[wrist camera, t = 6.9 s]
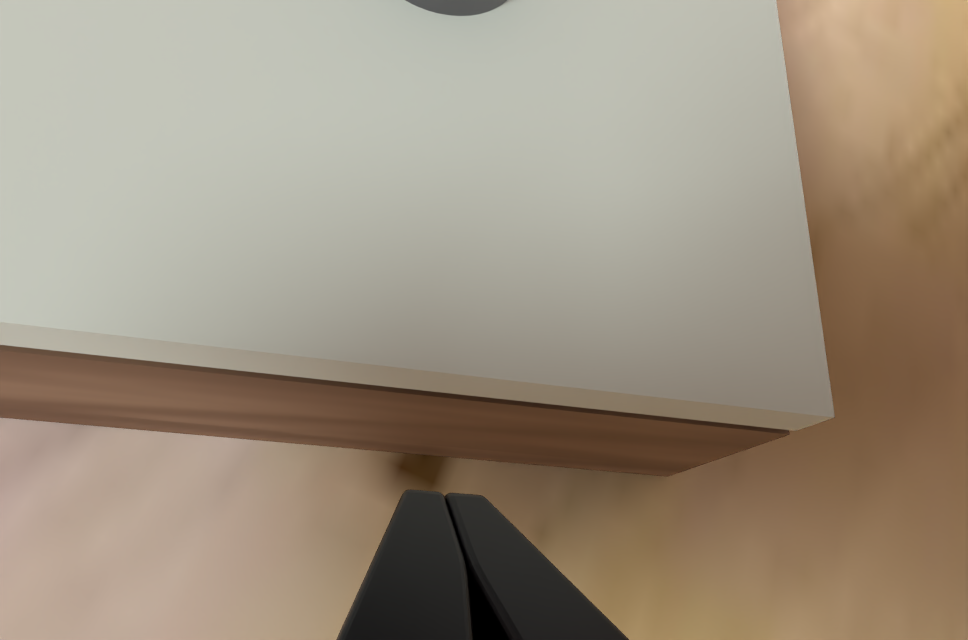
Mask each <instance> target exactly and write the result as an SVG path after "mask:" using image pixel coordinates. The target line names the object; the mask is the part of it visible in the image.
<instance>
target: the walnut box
mask: <svg viewBox="0 0 968 640" xmlns="http://www.w3.org/2000/svg"><path fill="white" fill-rule="evenodd" d="M0 417H2V418H14V419H25V420H36V421H48V422H59V423H70V424H82V425H93V426H104V427H115V428H127V429H138V430H149V431H161V432H172V433H183V434H195V435H206V436H217V437H229V438H240V439H251V440H263V441H274V442H285V443H297V444H308V445H319V446H330V447H342V448H353V449H364V450H376V451H387V452H398V453H410V454H421V455H432V456H444V457H455V458H466V459H478V460H489V461H500V462H511V463H523V464H534V465H545V466H557V467H568V468H579V469H591V470H602V471H613V472H625V473H636V474H647V475H659V476H670V475H673V474H676V473H679V472H682V471H685V470H688V469H691V468H694V467H696V466H699V465H702V464H705V463H708V462H711V461H714V460H717V459H720V458H723V457H725V456H728V455H731V454H734V453H737V452H740V451H743V450H746V449H749V448H752V447H755V446H757V445H760V444H763V443H766V442H769V441H772V440H775V439H778V438H781V437H784V436H787V435H789V430H784V429H774V428H765V427H756V426H747V425H737V424H728V423H719V422H710V421H701V420H691V419H682V418H673V417H664V416H654V415H645V414H636V413H627V412H617V411H608V410H599V409H590V408H580V407H571V406H562V405H553V404H543V403H534V402H525V401H516V400H506V399H497V398H488V397H479V396H469V395H460V394H451V393H442V392H433V391H423V390H414V389H405V388H396V387H386V386H377V385H368V384H359V383H349V382H340V381H331V380H322V379H312V378H303V377H294V376H285V375H275V374H266V373H257V372H248V371H238V370H229V369H220V368H211V367H202V366H192V365H183V364H174V363H165V362H155V361H146V360H137V359H128V358H118V357H109V356H100V355H91V354H81V353H72V352H63V351H54V350H44V349H35V348H26V347H17V346H7V345H0Z"/></svg>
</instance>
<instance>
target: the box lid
mask: <svg viewBox="0 0 968 640" xmlns="http://www.w3.org/2000/svg"><path fill="white" fill-rule="evenodd" d="M0 345H7V346H17V347H26V348H35V349H44V350H54V351H63V352H72V353H81V354H91V355H100V356H109V357H118V358H128V359H137V360H146V361H155V362H165V363H174V364H183V365H192V366H202V367H211V368H220V369H229V370H238V371H248V372H257V373H266V374H275V375H285V376H294V377H303V378H312V379H322V380H331V381H340V382H349V383H359V384H368V385H377V386H386V387H396V388H405V389H414V390H423V391H433V392H442V393H451V394H460V395H469V396H479V397H488V398H497V399H506V400H516V401H525V402H534V403H543V404H553V405H562V406H571V407H580V408H590V409H599V410H608V411H617V412H627V413H636V414H645V415H654V416H664V417H673V418H682V419H691V420H701V421H710V422H719V423H728V424H737V425H747V426H756V427H765V428H774V429H784V430H793V431H797V430H800V429H803V428H806V427H809V426H812V425H815V424H818V423H820V422H823V421H826V420H829V419H832V418H835V415H834V408H833V400H832V393H831V386H830V379H829V372H828V365H827V358H826V351H825V344H824V336H823V329H822V322H821V315H820V308H819V301H818V294H817V287H816V280H815V272H814V265H813V258H812V251H811V244H810V237H809V230H808V223H807V216H806V209H805V201H804V194H803V187H802V180H801V173H800V166H799V159H798V152H797V145H796V137H795V130H794V123H793V116H792V109H791V102H790V95H789V88H788V81H787V73H786V66H785V59H784V52H783V45H782V38H781V31H780V24H779V17H778V9H777V2H776V0H0Z"/></svg>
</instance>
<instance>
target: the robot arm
mask: <svg viewBox="0 0 968 640" xmlns="http://www.w3.org/2000/svg"><path fill="white" fill-rule="evenodd" d="M336 640H629V639H628V638H627V637H626V636H625V635H624V634H623V633H622V632H621V631H620V630H619V629H618V628H617V627H616V626H615V625H614V624H613V623H612V622H611V621H610V620H609V619H608V618H607V617H606V616H605V615H604V614H603V613H602V612H601V611H600V610H599V609H598V608H597V607H596V606H595V605H594V604H593V603H592V602H590V601H589V600H588V599H587V598H586V597H585V596H584V595H583V594H582V593H581V592H580V591H579V590H578V589H577V588H576V587H575V586H574V585H573V584H572V583H571V582H570V581H569V580H568V579H567V578H566V577H565V576H564V575H563V574H562V573H561V572H560V571H559V570H558V569H557V568H556V567H555V566H554V565H553V564H552V563H551V562H550V561H549V560H548V559H547V558H546V557H545V556H544V555H543V554H542V553H541V552H540V551H539V550H538V549H537V548H536V547H535V546H534V545H533V544H532V543H531V542H530V541H529V540H528V539H527V538H526V537H525V536H524V535H523V534H522V533H521V532H520V531H519V530H518V529H517V528H516V527H515V526H514V525H513V524H511V523H510V522H509V521H508V520H507V519H506V518H505V517H504V516H503V515H502V514H501V513H500V512H499V511H498V510H497V509H496V508H495V507H494V506H493V505H492V504H491V503H490V502H489V501H488V500H487V499H486V498H485V497H483V496H481V495H473V494H459V493H448V494H446V495H445V496H443V494H441V493H439V492H434V491H421V490H406V491H405V492H404V493H403V494H402V496H401V498H400V501H399V503H398V505H397V507H396V510H395V512H394V514H393V516H392V518H391V521H390V523H389V525H388V527H387V529H386V532H385V534H384V536H383V538H382V540H381V543H380V545H379V547H378V549H377V551H376V554H375V556H374V558H373V560H372V562H371V565H370V567H369V569H368V571H367V573H366V576H365V578H364V580H363V582H362V584H361V587H360V589H359V591H358V593H357V595H356V598H355V600H354V602H353V604H352V606H351V609H350V611H349V613H348V615H347V617H346V620H345V622H344V624H343V626H342V628H341V631H340V633H339V635H338V637H337V639H336Z"/></svg>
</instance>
